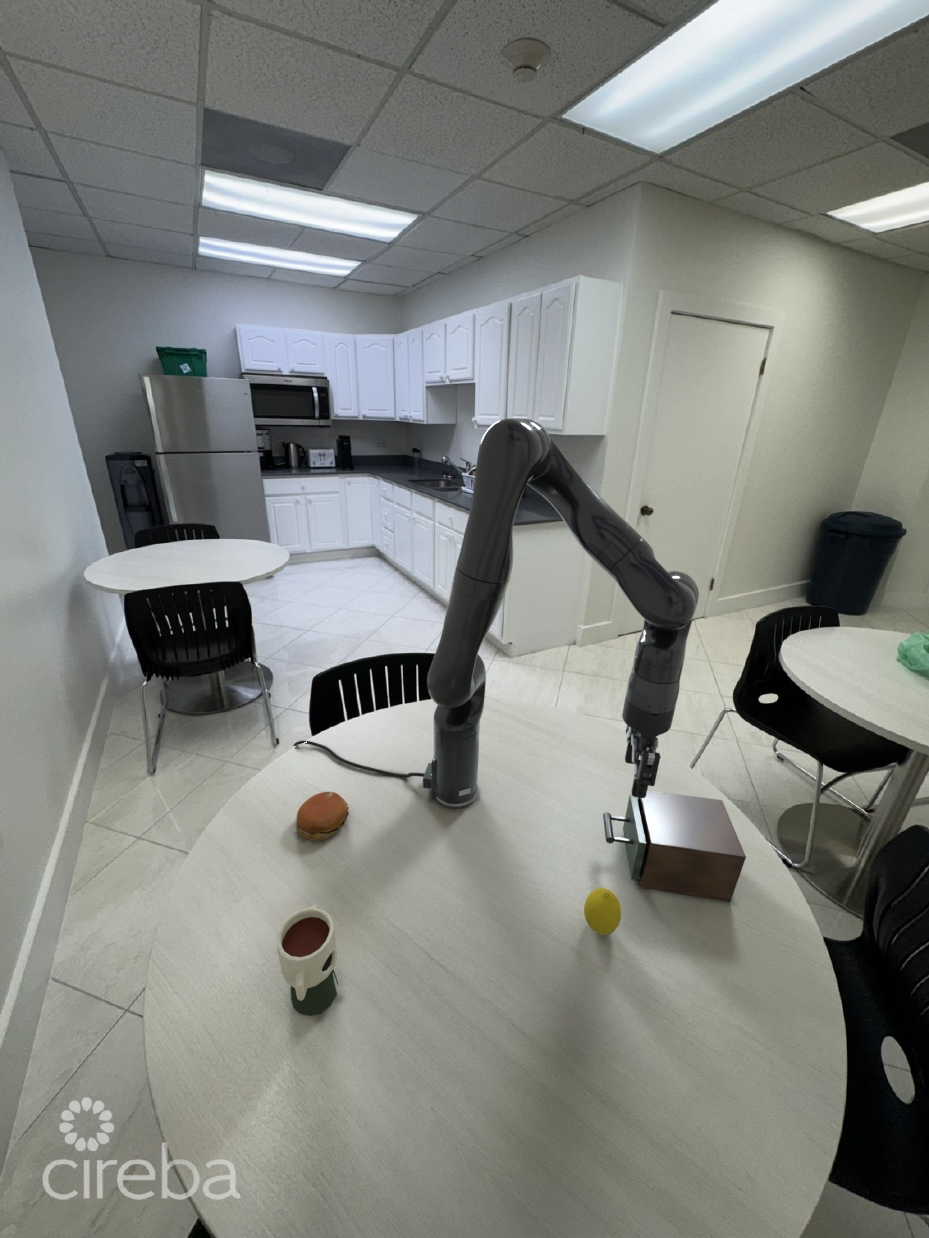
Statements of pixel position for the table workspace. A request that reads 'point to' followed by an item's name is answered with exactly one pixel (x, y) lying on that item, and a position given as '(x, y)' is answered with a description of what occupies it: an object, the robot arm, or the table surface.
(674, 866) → the cabinet
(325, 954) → the character mug
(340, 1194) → the table surface
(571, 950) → the table surface
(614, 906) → the lemon
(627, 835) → the drawer
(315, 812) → the burger
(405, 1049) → the table surface
